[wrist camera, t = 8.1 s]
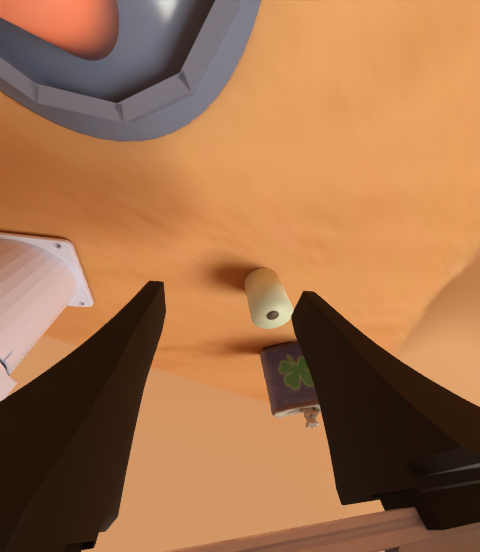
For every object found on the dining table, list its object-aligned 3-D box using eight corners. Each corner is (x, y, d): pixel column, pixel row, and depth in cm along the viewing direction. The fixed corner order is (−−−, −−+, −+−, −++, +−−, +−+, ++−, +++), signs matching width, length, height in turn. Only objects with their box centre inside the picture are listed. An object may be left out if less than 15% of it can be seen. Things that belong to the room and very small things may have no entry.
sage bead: (243, 296, 23) (250, 331, 19) (244, 269, 21) (252, 301, 17) (276, 293, 23) (289, 327, 19) (280, 266, 21) (297, 298, 17)
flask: (259, 355, 32) (276, 437, 24) (258, 346, 30) (276, 430, 22) (313, 347, 32) (349, 424, 24) (316, 337, 30) (355, 417, 22)
